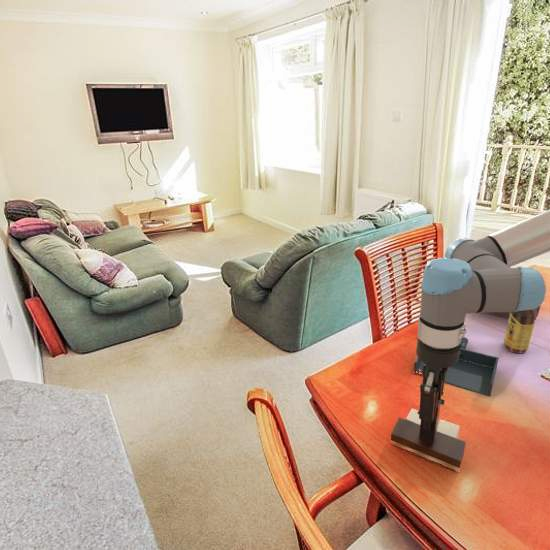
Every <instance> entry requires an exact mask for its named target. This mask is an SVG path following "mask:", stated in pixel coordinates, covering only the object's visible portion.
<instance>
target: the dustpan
mask: <svg viewBox="0 0 550 550" xmlns="http://www.w3.org/2000/svg"><path fill="white" fill-rule="evenodd" d="M460 344H461V348H460V355H459V360H458V362H457V363H456V364H455V365H453V366H451V367H448V370H447V372H446V378H445V382H444V384H448V385H451V386H454V387H458V388H461V389H464V390H468V391H471V392H474V393H477V394H480V395H484V396H487V397H491V395H492V391H493V386H494V381H495V378H496V373H497V369H498V368H497V367H498V363H499V357H498V356H494V355H489V354H486V353H483V352H478V351H473V350H471V349H467V347H468V345H469V339H468V338H467V337H465V336H464V338H462V339H461V343H460ZM424 365H426V364H425V363H424V362H422V361H421V360H420V359H419V358H418V356H417V357H416V358H415V361H414V365H413V373H414V372H415V373H416V371H417V372H418V373H417V374H416V375H418V374H419V372H421V373H422V372H423V367H424ZM419 369H420V370H421V371H419ZM415 373H414V374H415ZM421 375H423V373H422V374H421ZM421 375H420V376H421Z"/></svg>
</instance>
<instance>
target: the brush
mask: <svg viewBox="0 0 550 550" xmlns="http://www.w3.org/2000/svg"><path fill="white" fill-rule="evenodd" d="M441 405H442V404H441V400H438V399H437V406H436V413H435V415H437V416H436V424H435V432H434V439H433V441H430V440H428V439H425V438H423V437H420V436H419V434H420V425H419V424H416V423H413V422H411V421H408V420H406V418H403V417H398V418H397V421H396V422H395V424H394V427H393V429H392V431H391V433H390V444H391V443H392V444H395V445H397V446H399V447H402V448H404V449H406V450H408V451H411V452H414V453H416V454H418V455H420V456H422V457H421V458H423V457H425V458H427V459H426V460H428V459H430V460H432V461H435V462H437V463H440V464H442V465H445V466H447V467H450V468H452V469H455V470H457V471H459V472H461V471H460V470H461V467H462V462H463V458H464V455H465V450H466V444H467V441H465V440H462V439H459V438H458V439H457V438H454V437H451V436H449V435H446V434H443V433H440V432H438V431H437V428H438V425H439V421H440V411H441ZM399 447H398V448H399ZM404 449H403V450H404ZM406 450H405V451H406ZM408 451H407V452H408ZM411 452H410V453H411ZM416 454H415V455H416ZM418 455H417V456H418ZM420 456H419V457H420ZM425 458H424V459H425ZM430 460H429V461H430ZM432 461H431V462H432ZM435 462H434V463H435ZM437 463H436V464H437ZM440 464H439V465H440ZM442 465H441V466H442ZM445 466H444V467H445ZM447 467H446V468H447ZM452 469H451V470H452ZM457 471H456V472H457Z"/></svg>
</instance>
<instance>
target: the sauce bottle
mask: <svg viewBox="0 0 550 550" xmlns="http://www.w3.org/2000/svg"><path fill="white" fill-rule="evenodd" d="M535 317H536V310H535V309H532V310H523V311H518V312H510V315H509V318H508V322H507V326H506V331H505V335H504V340H503V341H504V343H503V346H504V348H505V349H506V350H507V351H508V352H512V353H514V354H526V352H527V351H528V348H529V346H530V342H531V339H532V335H533V332H534V327H535V323H536V320H535ZM536 318H537V317H536Z"/></svg>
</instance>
